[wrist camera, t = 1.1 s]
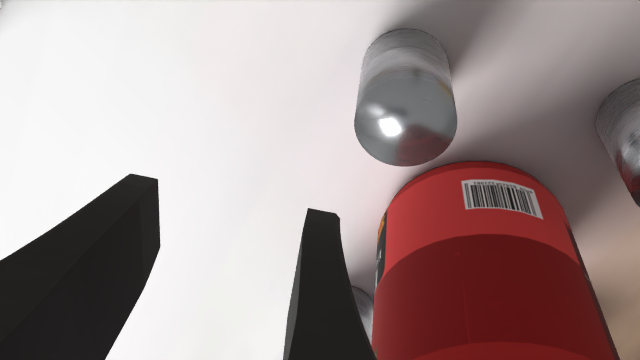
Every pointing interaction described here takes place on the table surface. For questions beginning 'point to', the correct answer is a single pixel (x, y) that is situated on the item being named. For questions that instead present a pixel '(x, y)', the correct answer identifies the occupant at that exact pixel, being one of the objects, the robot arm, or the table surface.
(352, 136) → the table surface
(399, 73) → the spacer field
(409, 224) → the canned food
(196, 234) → the table surface
